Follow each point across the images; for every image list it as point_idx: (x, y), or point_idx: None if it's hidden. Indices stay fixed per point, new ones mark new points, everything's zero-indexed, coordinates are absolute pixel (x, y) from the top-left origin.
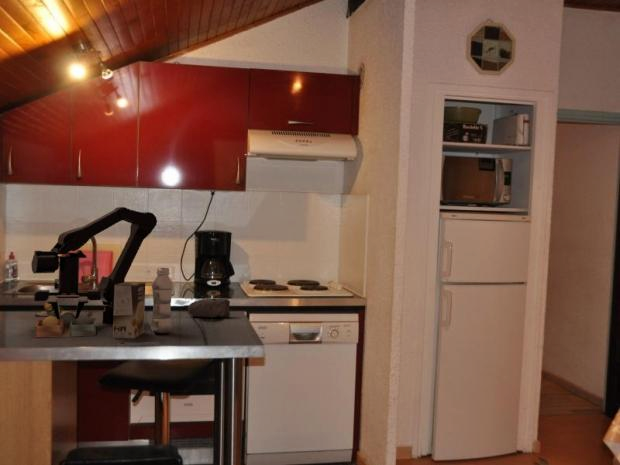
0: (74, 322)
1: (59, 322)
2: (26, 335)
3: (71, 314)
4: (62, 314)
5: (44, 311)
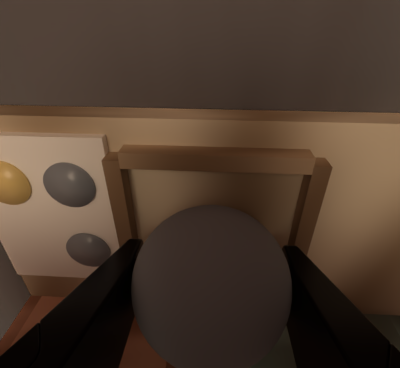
0: (262, 362)
1: (152, 358)
2: (10, 310)
3: (250, 364)
4: (146, 338)
5: None
